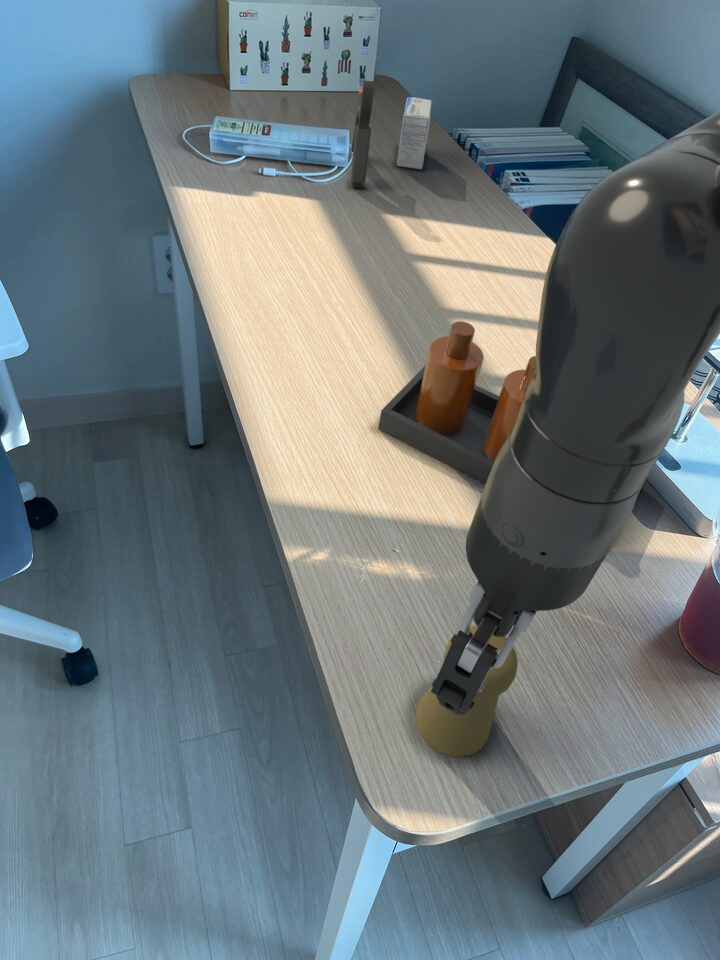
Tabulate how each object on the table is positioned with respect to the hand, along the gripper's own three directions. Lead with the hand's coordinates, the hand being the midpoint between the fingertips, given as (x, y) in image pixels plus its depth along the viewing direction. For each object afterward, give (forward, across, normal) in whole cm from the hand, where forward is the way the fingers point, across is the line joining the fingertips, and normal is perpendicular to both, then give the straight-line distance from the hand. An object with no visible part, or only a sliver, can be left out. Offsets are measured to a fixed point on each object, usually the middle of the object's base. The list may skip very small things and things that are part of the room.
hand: (479, 657), depth 53 cm
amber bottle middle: (+9, +31, +9) cm, 33 cm away
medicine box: (+10, +87, +53) cm, 102 cm away
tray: (+10, +31, +9) cm, 33 cm away
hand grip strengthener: (+10, +76, +57) cm, 95 cm away
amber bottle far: (+9, +31, +17) cm, 36 cm away
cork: (+10, 0, 0) cm, 10 cm away
